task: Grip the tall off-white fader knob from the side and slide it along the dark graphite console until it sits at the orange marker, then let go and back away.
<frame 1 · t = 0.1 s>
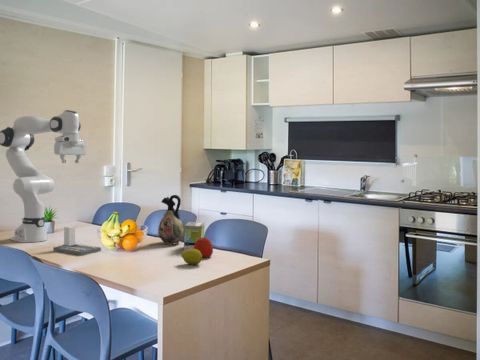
hand: (70, 163, 260), 48 cm above the table, tool pointing down, fingers open, 8 cm apart
lemon: (192, 265, 224), on the table
fader knob: (69, 236, 251), point 8 cm above the table, slide at 0.0 cm
tea box: (194, 249, 261), on the table
console: (77, 251, 249), on the table
apple: (203, 257, 242), on the table
ceramic jug: (171, 244, 276), on the table
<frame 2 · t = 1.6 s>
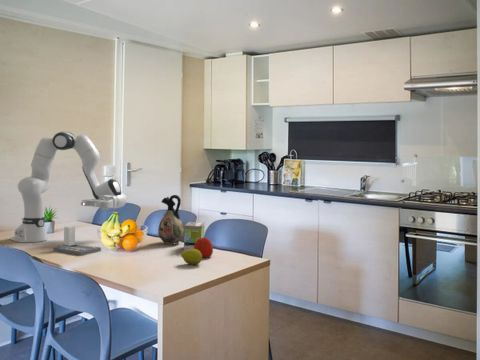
hand: (87, 204, 262), 24 cm above the table, tool horizontal, fingers open, 8 cm apart
nothing on the table moved.
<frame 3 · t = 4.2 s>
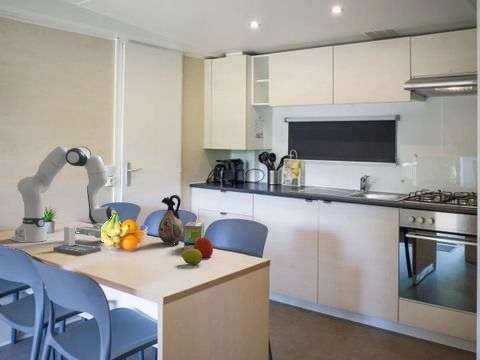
hand: (81, 233, 259), 8 cm above the table, tool horizontal, fingers open, 8 cm apart
nothing on the table moved.
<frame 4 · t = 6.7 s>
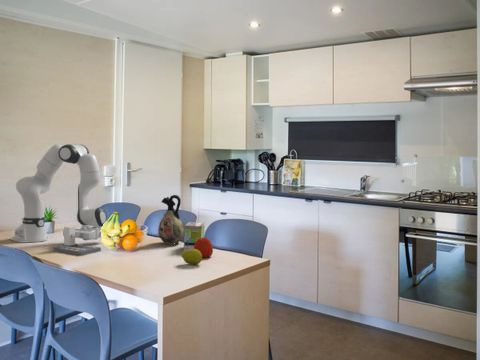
hand: (68, 235, 250), 8 cm above the table, tool horizontal, fingers closed on fader knob, 4 cm apart
fader knob: (69, 236, 251), point 8 cm above the table, slide at 0.0 cm, touching gripper
everything else where it was.
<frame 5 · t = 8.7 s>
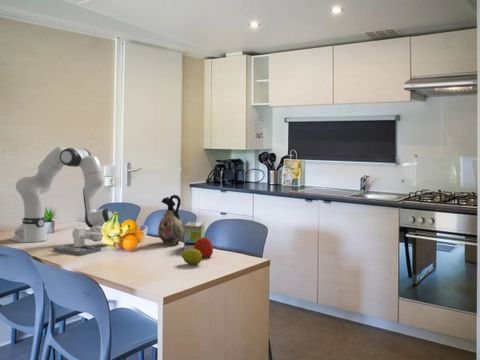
hand: (77, 237, 247), 8 cm above the table, tool horizontal, fingers closed on fader knob, 4 cm apart
fader knob: (79, 237, 248), point 8 cm above the table, slide at 7.4 cm, touching gripper
everything else where it was.
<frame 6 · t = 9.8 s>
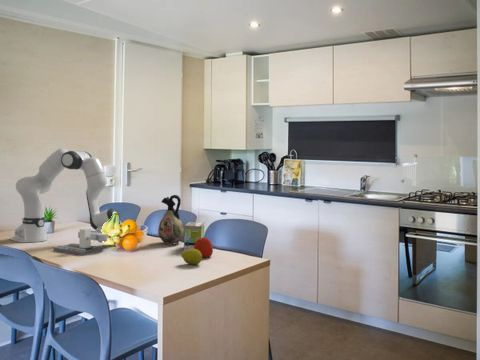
hand: (83, 237, 245), 8 cm above the table, tool horizontal, fingers closed on fader knob, 4 cm apart
fader knob: (85, 238, 246), point 8 cm above the table, slide at 11.9 cm, touching gripper
everything else where it was.
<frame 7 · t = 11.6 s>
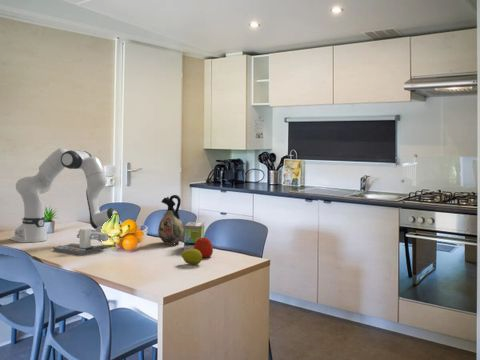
hand: (83, 237, 245), 8 cm above the table, tool horizontal, fingers open, 8 cm apart
fader knob: (85, 238, 246), point 8 cm above the table, slide at 11.9 cm
everything else where it was.
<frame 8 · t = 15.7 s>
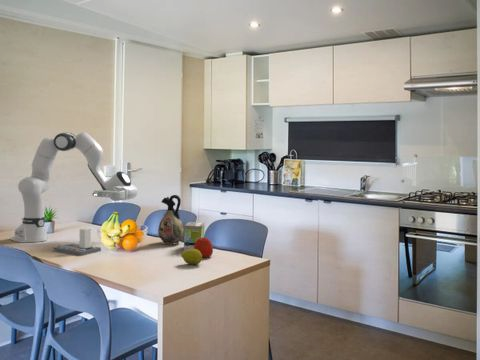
hand: (99, 194, 260), 30 cm above the table, tool horizontal, fingers open, 8 cm apart
nothing on the table moved.
at the end: fader knob slide at 11.9 cm; the gripper is holding nothing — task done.
